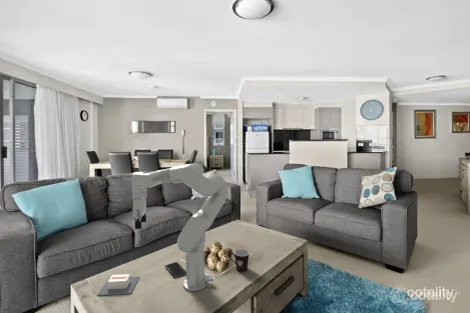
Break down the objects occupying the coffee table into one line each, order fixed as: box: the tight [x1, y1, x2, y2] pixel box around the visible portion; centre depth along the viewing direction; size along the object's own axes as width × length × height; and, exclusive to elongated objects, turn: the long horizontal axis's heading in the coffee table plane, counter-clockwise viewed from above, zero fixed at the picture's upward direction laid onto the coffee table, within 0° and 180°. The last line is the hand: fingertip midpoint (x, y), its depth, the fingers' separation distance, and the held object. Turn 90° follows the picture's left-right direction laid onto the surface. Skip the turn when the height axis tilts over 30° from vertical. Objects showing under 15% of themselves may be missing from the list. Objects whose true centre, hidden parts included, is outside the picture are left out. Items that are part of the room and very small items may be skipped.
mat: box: [97, 275, 140, 297], centre depth 128 cm, size 16×14×1 cm
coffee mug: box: [228, 248, 250, 273], centre depth 145 cm, size 12×9×10 cm
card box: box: [108, 273, 131, 289], centre depth 128 cm, size 6×9×4 cm, turn 95°
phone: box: [164, 261, 186, 279], centre depth 143 cm, size 8×1×15 cm
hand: (140, 225), depth 136 cm, fingers open, 9 cm apart
